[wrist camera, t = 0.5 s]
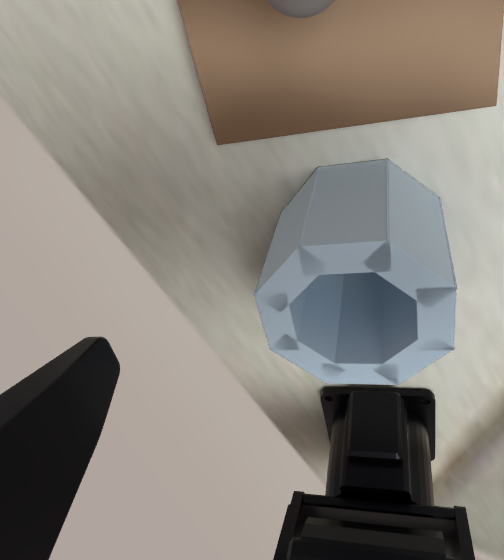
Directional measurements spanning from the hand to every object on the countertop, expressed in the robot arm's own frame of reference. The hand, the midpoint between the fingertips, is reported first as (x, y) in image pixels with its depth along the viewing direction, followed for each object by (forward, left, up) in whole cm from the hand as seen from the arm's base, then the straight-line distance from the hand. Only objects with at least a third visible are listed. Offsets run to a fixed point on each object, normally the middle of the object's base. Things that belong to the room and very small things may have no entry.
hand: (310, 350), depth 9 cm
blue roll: (-5, 0, -12) cm, 13 cm away
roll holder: (+6, 0, -12) cm, 14 cm away
